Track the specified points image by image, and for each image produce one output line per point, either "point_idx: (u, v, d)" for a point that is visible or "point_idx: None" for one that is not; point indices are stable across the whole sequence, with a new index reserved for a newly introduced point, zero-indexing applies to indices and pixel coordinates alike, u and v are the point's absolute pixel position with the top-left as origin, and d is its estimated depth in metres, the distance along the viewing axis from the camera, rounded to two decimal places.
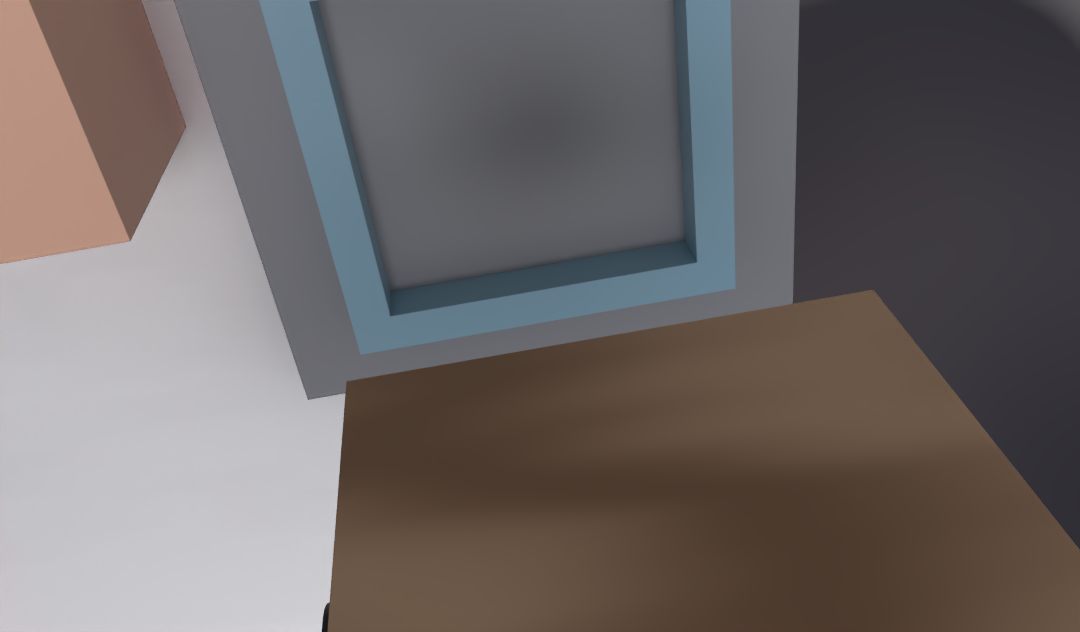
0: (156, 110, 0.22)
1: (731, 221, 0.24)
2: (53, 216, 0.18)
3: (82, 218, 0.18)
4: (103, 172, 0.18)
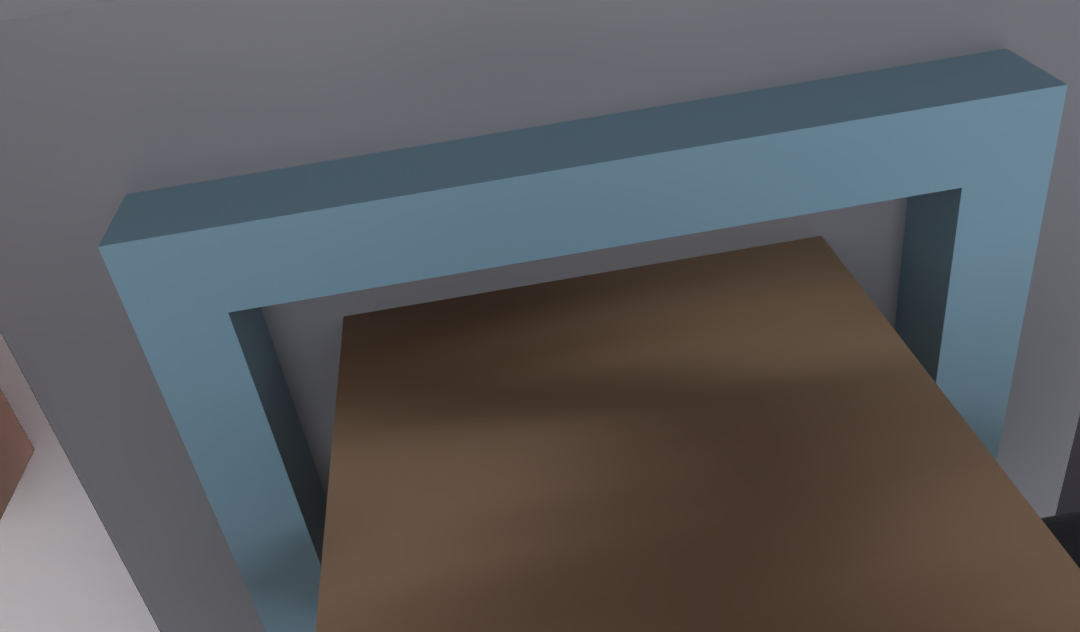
0: None
1: None
2: None
3: None
4: None
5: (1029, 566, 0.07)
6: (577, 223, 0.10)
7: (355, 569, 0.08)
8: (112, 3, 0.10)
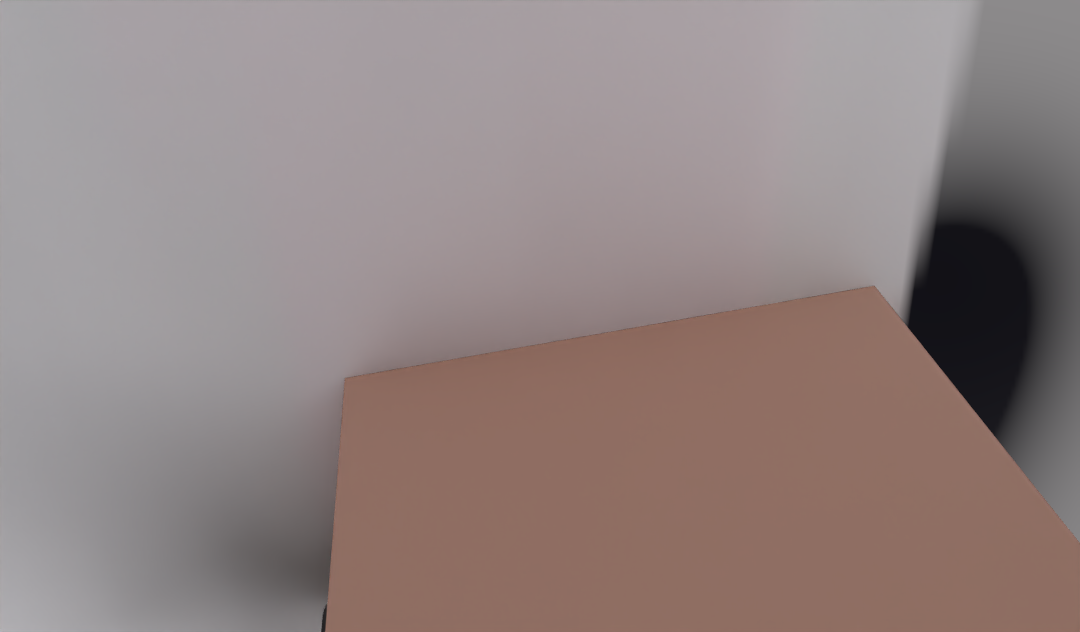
0: None
1: None
2: None
3: None
4: None
5: None
6: None
7: None
8: None
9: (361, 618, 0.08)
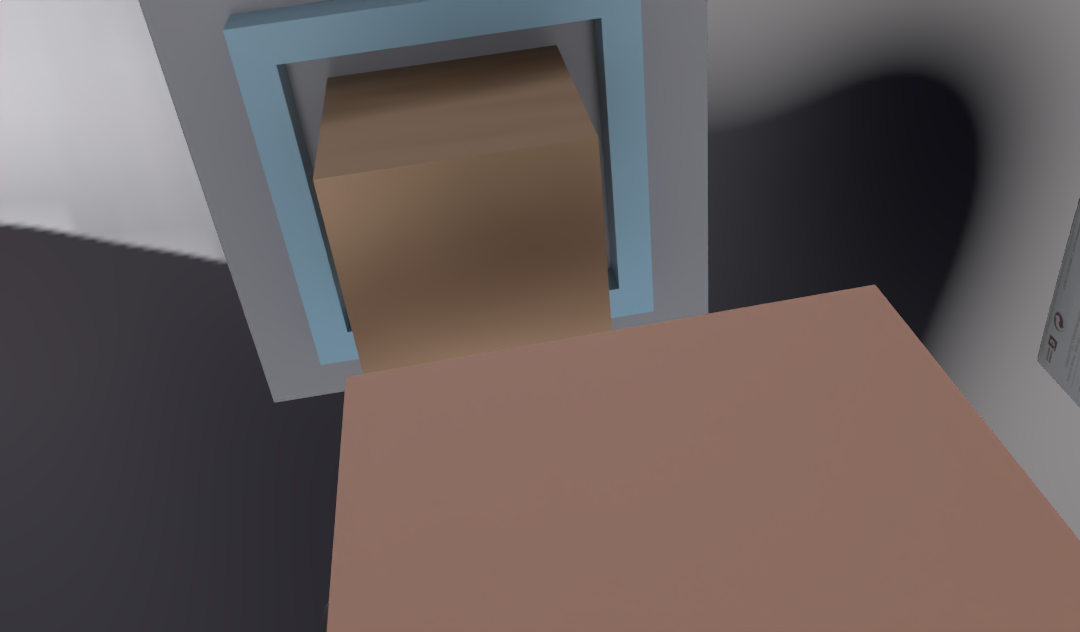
0: None
1: None
2: None
3: None
4: None
5: None
6: (623, 156, 0.26)
7: None
8: None
9: (363, 616, 0.08)
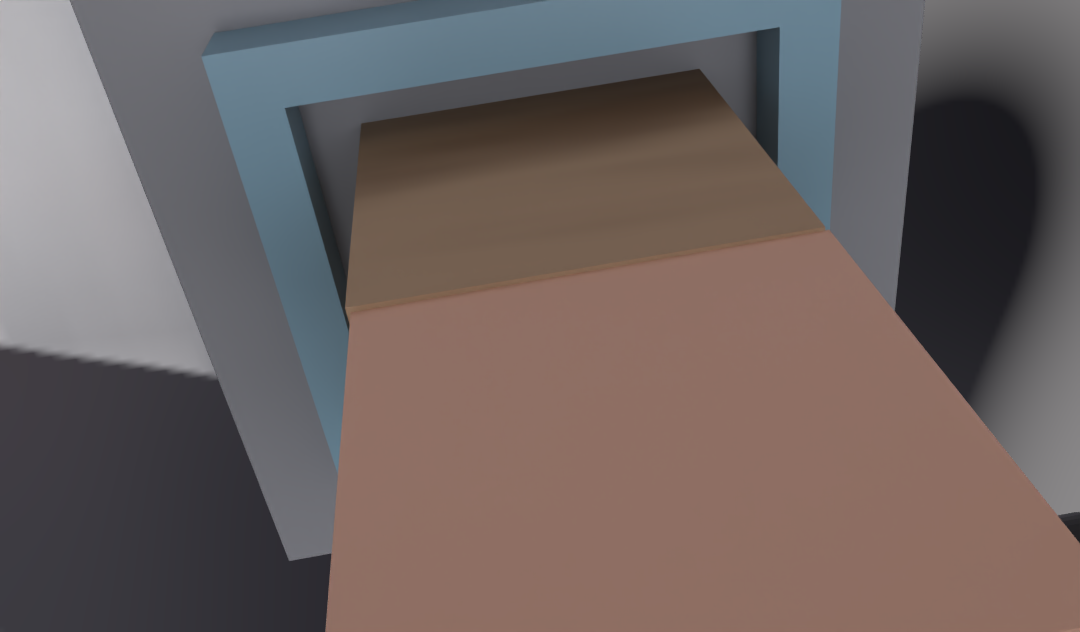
0: None
1: None
2: None
3: None
4: None
5: None
6: None
7: None
8: None
9: (366, 501, 0.09)
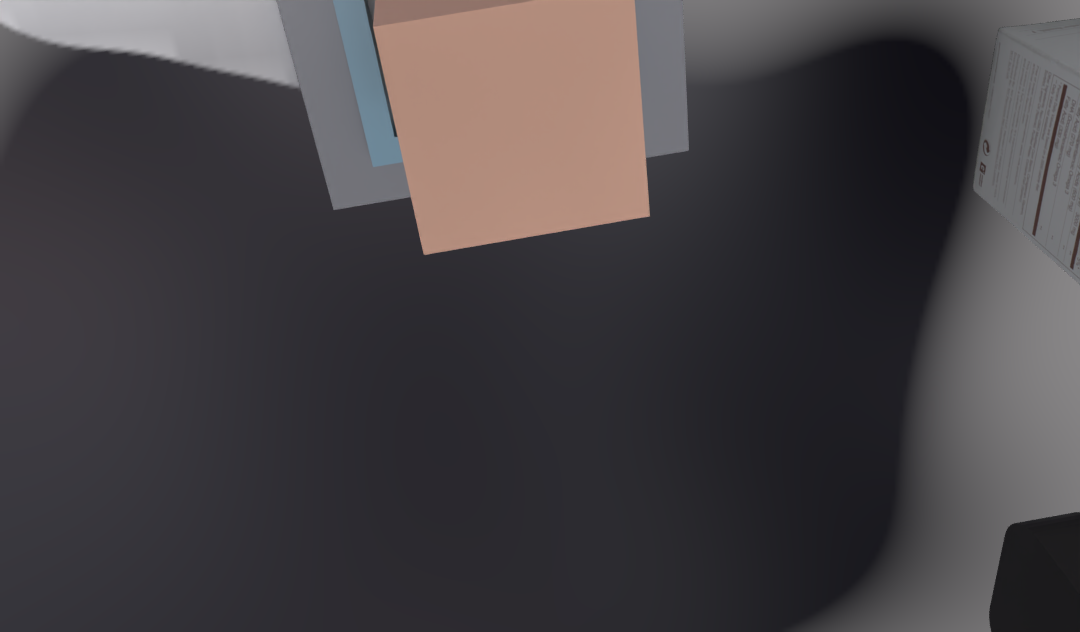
0: None
1: None
2: (445, 210, 0.24)
3: (443, 228, 0.25)
4: (476, 244, 0.25)
5: None
6: None
7: None
8: None
9: None
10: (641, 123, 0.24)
